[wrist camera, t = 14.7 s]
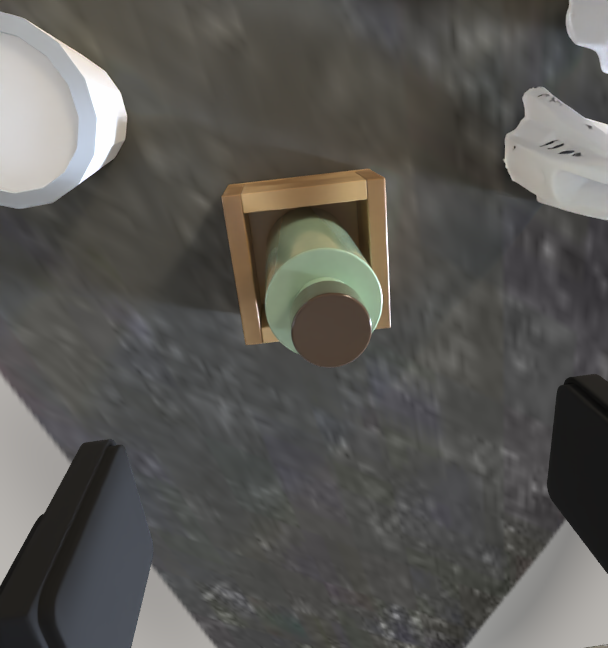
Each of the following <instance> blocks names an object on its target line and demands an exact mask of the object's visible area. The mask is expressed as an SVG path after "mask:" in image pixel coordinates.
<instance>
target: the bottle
mask: <svg viewBox="0 0 608 648" xmlns="http://www.w3.org/2000/svg"><path fill="white" fill-rule="evenodd" d="M382 306H383V296H382V290H381V286H380V283H379V280H378V278H377V276H376V275H375V273H374V271H373V270H372V268H371V267H370V265H369V264H368V262H367V261H366V259H365V258H364V256H363V255H362V253H361V252H360V250H359V249H358V247H357V246H356V244H355V243H354V241H353V240H352V238H351V237H350V235H349V234H348V232H347V231H346V229H345V228H344V226H343V225H342V224H341V222H340V221H339V220H338V219H337V218H336V217H335V216H334V215H332V214H331V213H329V212H327V211H326V210H323V209H320V208H316V207H301V208H297V209H294V210H291V211H289V212H287V213H285V214H284V215H282V216H281V217H280V218H279V219H278V220H277V221H276V222H275V223H274V225H273V226H272V228H271V230H270V232H269V234H268V237H267V241H266V265H265V313H266V318H267V322H268V324H269V327H270V329H271V331H272V332H273V334H274V335H275V337H276V338H277V339H278V340H279V341H280V342H281V343H282V344H283V345H284V346H285V347H287V348H288V349H290V350H291V351H293V352H295V353H297V354H299V355H300V356H301V357H302V358H304V359H305V360H306V361H308V362H310V363H312V364H314V365H316V366H320V367H326V368H333V367H340V366H343V365H346V364H348V363H350V362H352V361H354V360H355V359H356V358H358V357H359V356H360V355H361V354H362V353H363V352H364V350H365V349H366V347H367V346H368V344H369V341H370V338H371V334H372V333H373V331H374V329H375V328H376V326H377V324H378V322H379V319H380V316H381V313H382Z"/></svg>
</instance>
